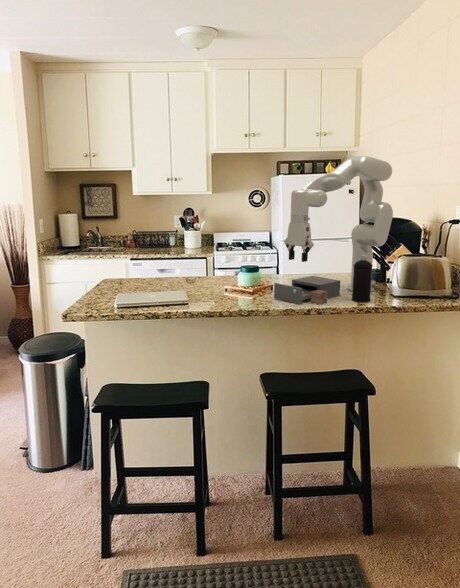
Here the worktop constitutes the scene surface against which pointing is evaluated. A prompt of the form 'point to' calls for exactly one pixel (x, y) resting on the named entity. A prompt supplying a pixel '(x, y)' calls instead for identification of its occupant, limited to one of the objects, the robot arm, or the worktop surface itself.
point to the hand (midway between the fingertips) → (297, 260)
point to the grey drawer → (290, 293)
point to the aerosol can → (362, 280)
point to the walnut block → (318, 297)
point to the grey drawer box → (319, 285)
